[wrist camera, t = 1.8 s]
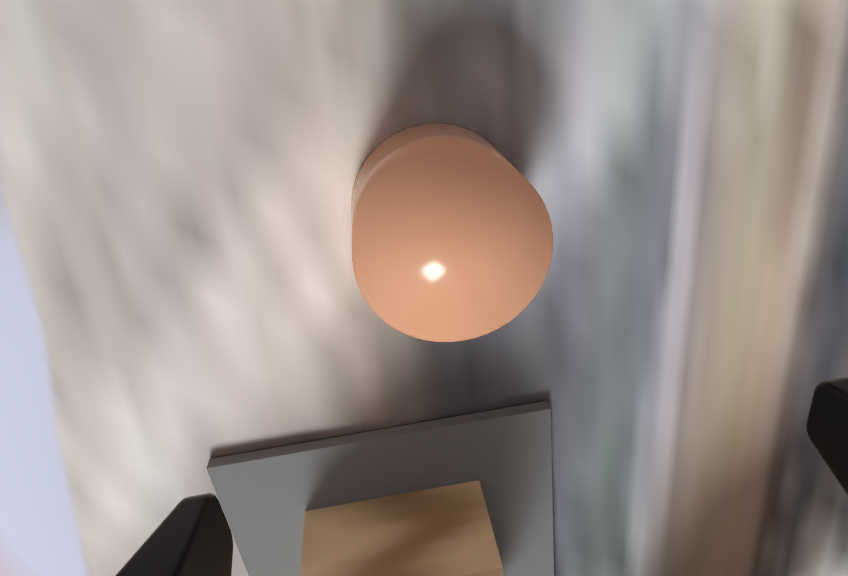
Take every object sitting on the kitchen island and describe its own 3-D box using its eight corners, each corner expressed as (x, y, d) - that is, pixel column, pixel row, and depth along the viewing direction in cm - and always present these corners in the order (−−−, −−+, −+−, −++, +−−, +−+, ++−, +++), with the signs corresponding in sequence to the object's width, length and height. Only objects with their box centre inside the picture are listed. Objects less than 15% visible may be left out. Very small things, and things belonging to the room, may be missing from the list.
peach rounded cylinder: (509, 110, 17) (551, 139, 14) (517, 266, 20) (554, 325, 16) (337, 136, 17) (334, 171, 13) (366, 290, 19) (370, 356, 16)
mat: (546, 400, 22) (550, 409, 22) (551, 609, 28) (554, 619, 28) (209, 458, 22) (206, 468, 21) (287, 660, 28) (286, 671, 27)
